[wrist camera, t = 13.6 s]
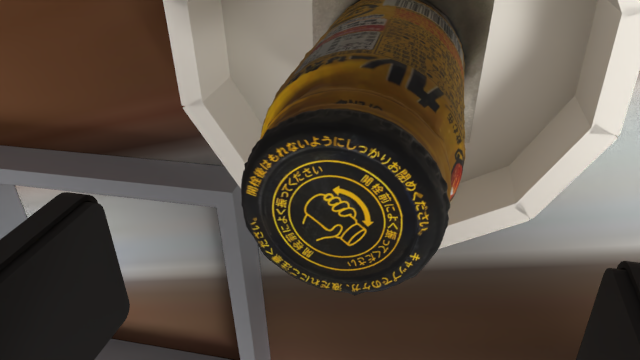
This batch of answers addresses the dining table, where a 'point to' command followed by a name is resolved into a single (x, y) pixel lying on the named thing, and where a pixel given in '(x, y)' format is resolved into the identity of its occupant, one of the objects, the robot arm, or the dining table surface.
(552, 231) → the dining table surface
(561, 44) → the bowl
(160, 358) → the square frame
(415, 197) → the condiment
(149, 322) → the dining table surface
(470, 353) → the dining table surface
